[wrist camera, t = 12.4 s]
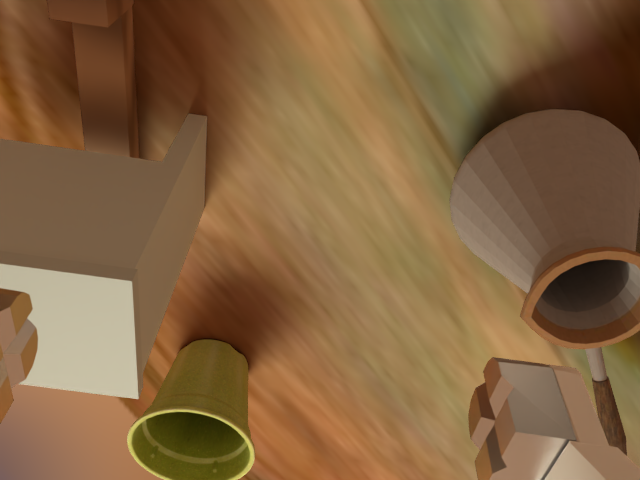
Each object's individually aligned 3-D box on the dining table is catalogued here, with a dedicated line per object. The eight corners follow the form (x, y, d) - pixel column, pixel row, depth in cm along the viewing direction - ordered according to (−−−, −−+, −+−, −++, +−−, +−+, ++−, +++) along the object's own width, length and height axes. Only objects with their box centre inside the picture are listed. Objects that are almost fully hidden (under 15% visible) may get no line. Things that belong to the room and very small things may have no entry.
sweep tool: (72, -102, 32) (35, -90, 28) (129, -94, 32) (100, -81, 29) (99, 183, 42) (74, 219, 39) (142, 189, 42) (122, 226, 39)
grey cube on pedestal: (13, 84, 38) (-177, 240, 25) (210, 113, 39) (132, 281, 25) (29, 185, 43) (-125, 365, 29) (207, 210, 43) (138, 399, 29)
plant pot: (269, 402, 55) (257, 491, 48) (165, 397, 55) (137, 484, 48) (266, 325, 49) (251, 412, 42) (150, 320, 50) (116, 406, 43)
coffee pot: (426, 122, 39) (459, 269, 26) (618, 66, 36) (753, 200, 24) (488, 352, 50) (532, 530, 38) (638, 322, 47) (736, 502, 35)
